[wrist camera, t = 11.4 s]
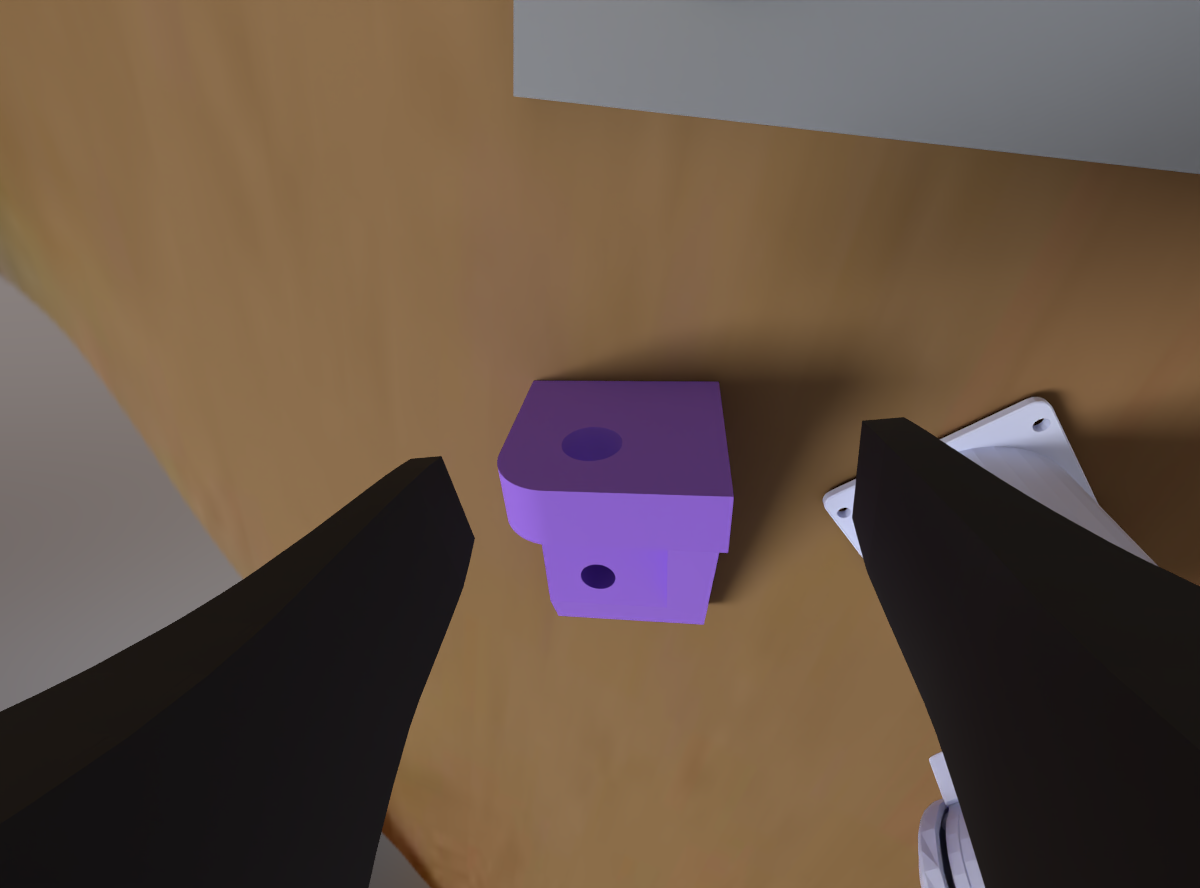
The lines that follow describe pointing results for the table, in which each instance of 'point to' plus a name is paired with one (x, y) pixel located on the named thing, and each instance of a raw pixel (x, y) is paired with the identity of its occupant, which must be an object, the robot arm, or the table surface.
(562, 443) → the bracket
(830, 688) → the table surface
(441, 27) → the table surface
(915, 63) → the board
